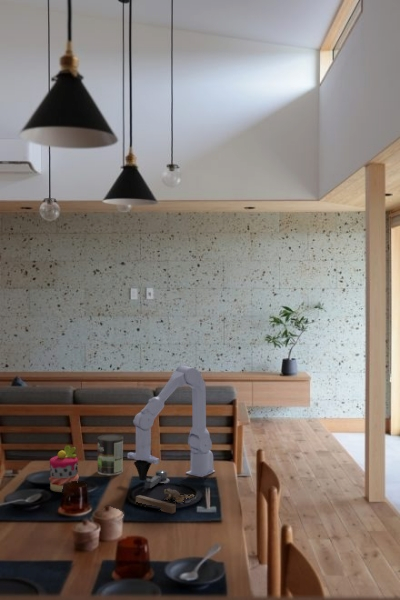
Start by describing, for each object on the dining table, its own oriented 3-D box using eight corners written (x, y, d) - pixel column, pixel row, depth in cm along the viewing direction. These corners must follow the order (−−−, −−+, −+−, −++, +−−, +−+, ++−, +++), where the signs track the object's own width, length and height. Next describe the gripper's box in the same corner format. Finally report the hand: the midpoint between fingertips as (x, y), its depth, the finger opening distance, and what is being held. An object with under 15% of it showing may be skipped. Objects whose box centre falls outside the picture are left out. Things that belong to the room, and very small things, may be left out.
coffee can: (101, 476, 260) (101, 441, 259) (94, 469, 269) (94, 435, 269) (126, 473, 264) (126, 438, 264) (118, 467, 273) (118, 433, 273)
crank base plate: (159, 477, 259) (159, 476, 259) (172, 480, 256) (172, 479, 256) (149, 481, 254) (149, 480, 254) (162, 484, 251) (162, 483, 251)
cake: (71, 493, 240) (71, 452, 240) (44, 491, 242) (44, 450, 242) (82, 484, 250) (82, 445, 250) (56, 482, 253) (56, 443, 252)
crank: (158, 476, 258) (158, 466, 258) (168, 478, 256) (168, 467, 256) (142, 487, 245) (142, 476, 244) (153, 489, 243) (153, 478, 243)
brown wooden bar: (139, 502, 231) (139, 495, 231) (175, 512, 222) (175, 504, 222) (135, 503, 229) (135, 496, 229) (171, 513, 220) (171, 506, 220)
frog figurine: (155, 504, 231) (156, 493, 231) (169, 493, 242) (169, 483, 242) (186, 508, 227) (186, 497, 227) (198, 497, 238) (198, 486, 238)
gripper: (122, 443, 254) (121, 478, 254) (150, 449, 245) (150, 485, 246) (134, 440, 260) (134, 474, 260) (162, 445, 251) (162, 481, 251)
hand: (142, 479), depth 253 cm, fingers closed
